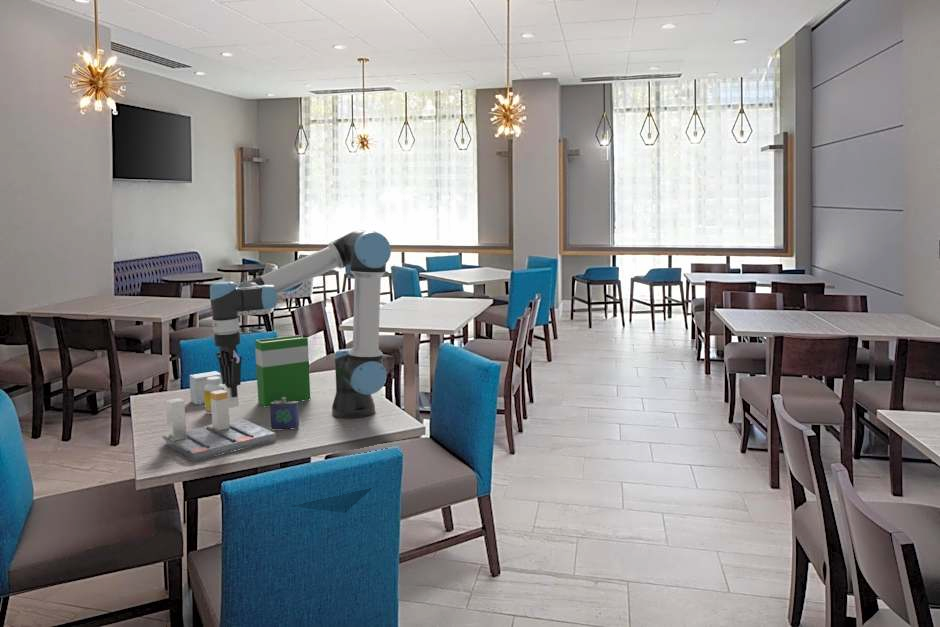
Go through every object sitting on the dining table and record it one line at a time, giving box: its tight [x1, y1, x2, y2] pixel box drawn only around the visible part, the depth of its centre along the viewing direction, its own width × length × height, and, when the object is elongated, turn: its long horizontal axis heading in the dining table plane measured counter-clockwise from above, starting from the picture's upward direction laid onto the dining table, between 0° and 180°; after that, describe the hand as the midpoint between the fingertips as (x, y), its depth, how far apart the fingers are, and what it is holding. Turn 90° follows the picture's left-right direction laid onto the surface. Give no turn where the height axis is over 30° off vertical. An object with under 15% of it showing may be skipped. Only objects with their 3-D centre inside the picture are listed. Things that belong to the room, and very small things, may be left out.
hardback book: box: [254, 334, 311, 408], centre depth 275 cm, size 18×7×24 cm, turn 124°
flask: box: [269, 397, 300, 430], centre depth 243 cm, size 9×3×11 cm, turn 95°
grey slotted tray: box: [162, 397, 277, 462], centre depth 229 cm, size 23×27×15 cm
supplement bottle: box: [204, 376, 225, 415], centre depth 262 cm, size 7×7×13 cm
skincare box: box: [188, 370, 224, 405], centre depth 278 cm, size 10×6×10 cm, turn 131°
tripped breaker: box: [210, 389, 230, 431], centre depth 235 cm, size 4×4×12 cm
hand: (233, 406), depth 229 cm, fingers closed
